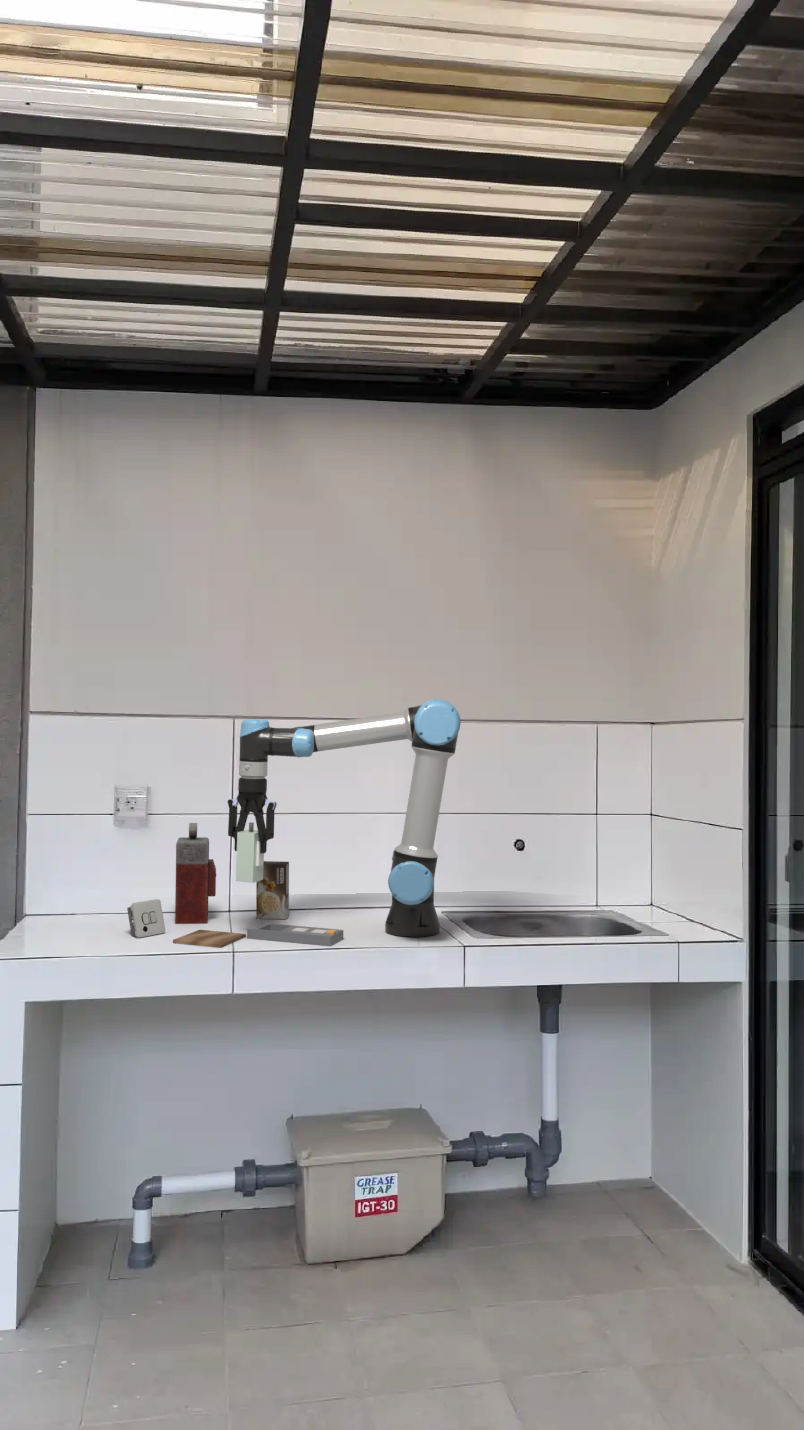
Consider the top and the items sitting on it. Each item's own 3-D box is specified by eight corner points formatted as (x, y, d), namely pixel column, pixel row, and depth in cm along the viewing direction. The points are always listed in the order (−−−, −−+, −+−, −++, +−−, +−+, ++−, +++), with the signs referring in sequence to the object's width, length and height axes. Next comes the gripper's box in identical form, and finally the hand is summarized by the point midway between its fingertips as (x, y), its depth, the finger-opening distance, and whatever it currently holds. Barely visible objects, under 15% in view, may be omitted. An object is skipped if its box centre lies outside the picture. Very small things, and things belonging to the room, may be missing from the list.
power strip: (343, 939, 291) (343, 928, 291) (330, 946, 283) (330, 934, 283) (261, 931, 299) (261, 920, 299) (246, 938, 290) (247, 927, 290)
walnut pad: (246, 936, 292) (246, 933, 292) (221, 947, 279) (221, 944, 279) (199, 932, 296) (199, 929, 296) (172, 943, 283) (172, 939, 283)
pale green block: (262, 879, 293) (264, 822, 293) (252, 882, 287) (254, 824, 287) (246, 877, 294) (248, 821, 294) (235, 881, 289) (237, 823, 289)
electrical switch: (137, 939, 288) (136, 903, 288) (125, 938, 291) (124, 902, 291) (166, 933, 295) (164, 899, 295) (154, 932, 298) (152, 898, 299)
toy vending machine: (215, 923, 309) (216, 824, 309) (175, 923, 307) (176, 824, 307) (216, 917, 318) (217, 821, 318) (176, 917, 316) (178, 821, 316)
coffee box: (289, 915, 322) (290, 861, 322) (286, 919, 316) (287, 864, 316) (258, 914, 323) (259, 860, 322) (255, 919, 316) (255, 863, 316)
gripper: (215, 776, 290) (212, 863, 290) (277, 780, 284) (274, 869, 284) (229, 774, 297) (226, 860, 297) (289, 778, 291) (286, 865, 291)
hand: (249, 864), depth 291 cm, fingers closed on pale green block, 5 cm apart
